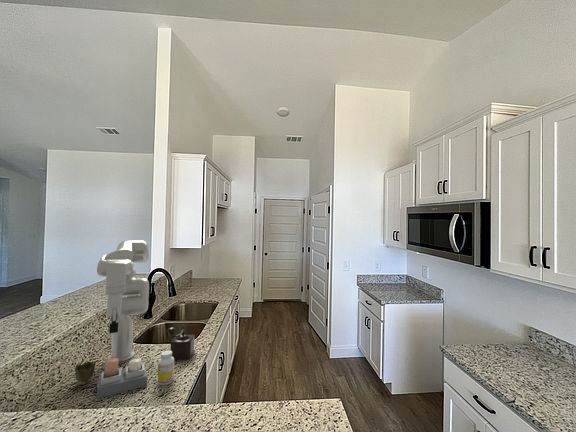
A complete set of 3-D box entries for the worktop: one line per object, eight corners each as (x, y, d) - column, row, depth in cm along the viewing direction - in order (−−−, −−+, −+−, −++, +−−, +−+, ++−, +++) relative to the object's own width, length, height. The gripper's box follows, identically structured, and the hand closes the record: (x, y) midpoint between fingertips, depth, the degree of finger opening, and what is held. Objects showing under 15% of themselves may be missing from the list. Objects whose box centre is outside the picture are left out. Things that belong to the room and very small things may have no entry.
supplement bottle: (162, 377, 125) (163, 349, 125) (176, 377, 124) (177, 349, 125) (154, 385, 118) (155, 355, 119) (169, 386, 118) (170, 356, 118)
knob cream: (128, 371, 122) (129, 360, 122) (140, 368, 124) (141, 357, 125) (128, 376, 118) (129, 364, 118) (141, 373, 120) (141, 361, 121)
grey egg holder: (99, 384, 119) (99, 370, 119) (144, 373, 128) (145, 360, 129) (96, 398, 109) (97, 383, 109) (146, 385, 118) (147, 371, 118)
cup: (92, 377, 124) (92, 359, 125) (97, 383, 120) (98, 364, 120) (71, 384, 119) (72, 365, 119) (76, 390, 114) (77, 371, 114)
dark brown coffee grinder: (174, 352, 151) (175, 319, 152) (194, 351, 152) (195, 318, 154) (164, 365, 136) (166, 329, 137) (187, 364, 137) (188, 328, 138)
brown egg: (105, 371, 117) (105, 359, 117) (118, 368, 120) (118, 357, 120) (104, 376, 113) (105, 364, 113) (117, 373, 116) (118, 361, 116)
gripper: (106, 287, 123) (104, 328, 122) (104, 293, 110) (102, 339, 109) (125, 286, 127) (123, 325, 126) (125, 291, 114) (123, 336, 113)
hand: (113, 332), depth 117 cm, fingers closed
